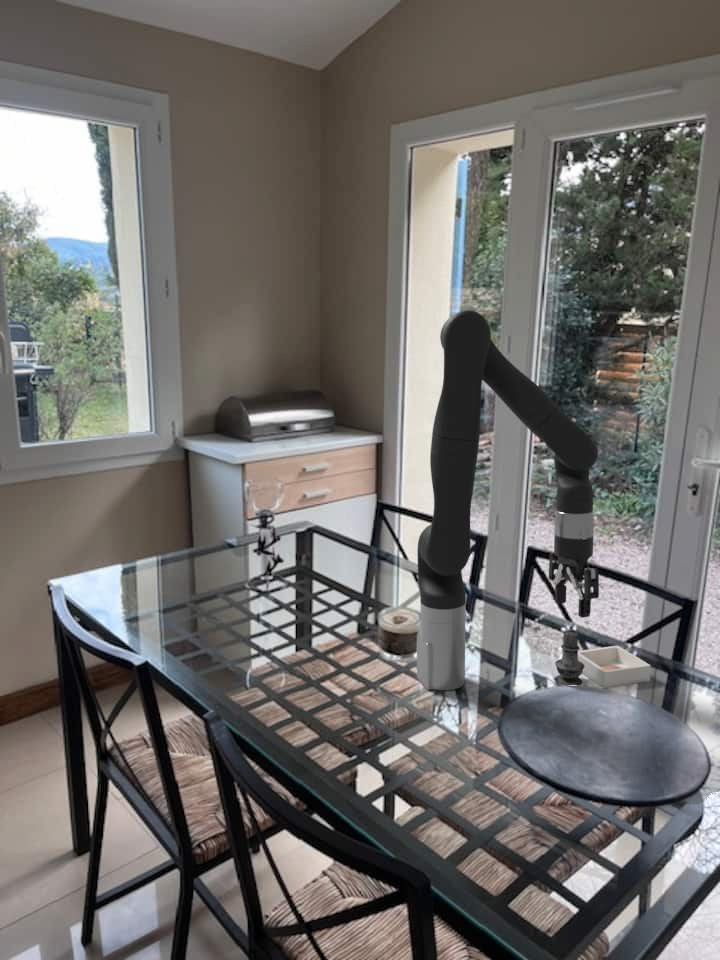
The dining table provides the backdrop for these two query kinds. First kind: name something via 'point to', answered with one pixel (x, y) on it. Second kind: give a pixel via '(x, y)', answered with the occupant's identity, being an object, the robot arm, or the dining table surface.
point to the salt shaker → (569, 660)
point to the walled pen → (613, 667)
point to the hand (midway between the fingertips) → (572, 609)
